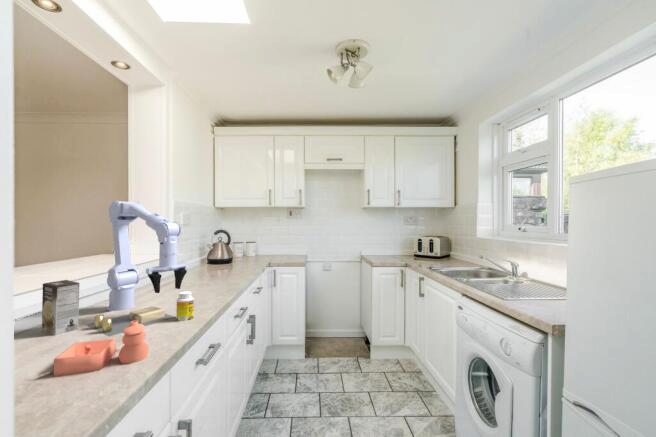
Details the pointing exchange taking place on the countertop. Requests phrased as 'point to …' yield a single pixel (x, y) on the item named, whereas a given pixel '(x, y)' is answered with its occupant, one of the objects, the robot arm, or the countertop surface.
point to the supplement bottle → (185, 306)
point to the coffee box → (60, 307)
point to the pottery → (102, 352)
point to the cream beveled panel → (147, 314)
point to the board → (127, 323)
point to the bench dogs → (103, 323)
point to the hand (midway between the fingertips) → (167, 290)
